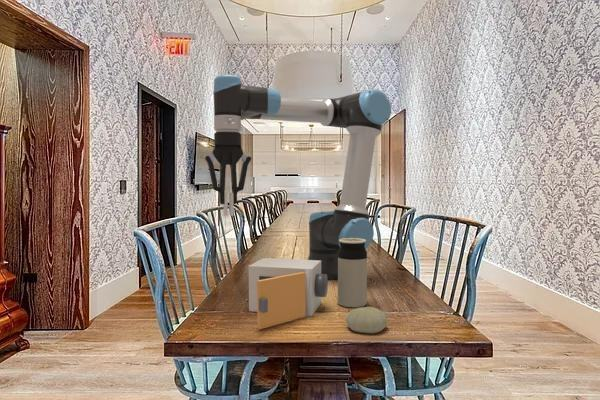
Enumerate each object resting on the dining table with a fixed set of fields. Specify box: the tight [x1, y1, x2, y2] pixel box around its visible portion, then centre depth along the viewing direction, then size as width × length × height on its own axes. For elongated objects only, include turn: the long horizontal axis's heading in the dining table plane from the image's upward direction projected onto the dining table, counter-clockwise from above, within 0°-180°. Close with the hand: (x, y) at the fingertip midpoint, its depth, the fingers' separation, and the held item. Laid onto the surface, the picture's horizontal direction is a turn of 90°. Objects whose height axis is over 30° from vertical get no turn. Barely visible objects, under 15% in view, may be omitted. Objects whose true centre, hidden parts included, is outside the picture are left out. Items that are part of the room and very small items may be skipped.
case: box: [248, 257, 329, 318], centre depth 118 cm, size 19×13×12 cm
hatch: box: [256, 272, 306, 329], centre depth 104 cm, size 14×2×11 cm, turn 131°
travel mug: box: [337, 238, 368, 309], centre depth 121 cm, size 8×8×18 cm
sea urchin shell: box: [345, 306, 388, 334], centre depth 102 cm, size 9×8×8 cm
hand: (228, 215), depth 124 cm, fingers closed
